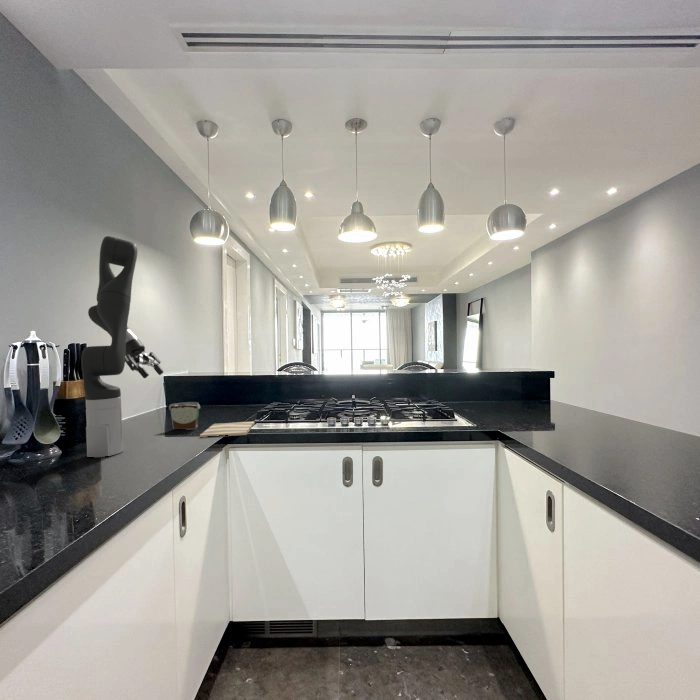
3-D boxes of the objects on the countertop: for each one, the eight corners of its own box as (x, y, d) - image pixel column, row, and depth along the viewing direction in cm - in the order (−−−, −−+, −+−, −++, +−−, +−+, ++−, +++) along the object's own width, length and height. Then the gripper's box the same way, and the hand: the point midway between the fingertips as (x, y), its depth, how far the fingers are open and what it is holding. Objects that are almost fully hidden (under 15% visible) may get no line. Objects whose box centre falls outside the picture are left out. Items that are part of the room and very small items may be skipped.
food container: (206, 425, 159) (205, 401, 159) (199, 429, 153) (198, 403, 153) (178, 426, 161) (176, 402, 160) (169, 429, 154) (168, 404, 154)
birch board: (246, 434, 140) (246, 432, 139) (200, 437, 138) (199, 434, 138) (254, 423, 159) (254, 421, 159) (214, 426, 158) (214, 423, 158)
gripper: (121, 338, 147) (147, 371, 146) (147, 336, 161) (172, 366, 160) (109, 351, 149) (135, 384, 148) (136, 348, 163) (160, 378, 162)
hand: (154, 375), depth 154 cm, fingers open, 8 cm apart
